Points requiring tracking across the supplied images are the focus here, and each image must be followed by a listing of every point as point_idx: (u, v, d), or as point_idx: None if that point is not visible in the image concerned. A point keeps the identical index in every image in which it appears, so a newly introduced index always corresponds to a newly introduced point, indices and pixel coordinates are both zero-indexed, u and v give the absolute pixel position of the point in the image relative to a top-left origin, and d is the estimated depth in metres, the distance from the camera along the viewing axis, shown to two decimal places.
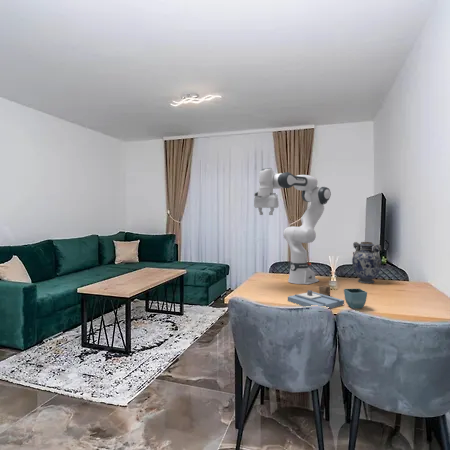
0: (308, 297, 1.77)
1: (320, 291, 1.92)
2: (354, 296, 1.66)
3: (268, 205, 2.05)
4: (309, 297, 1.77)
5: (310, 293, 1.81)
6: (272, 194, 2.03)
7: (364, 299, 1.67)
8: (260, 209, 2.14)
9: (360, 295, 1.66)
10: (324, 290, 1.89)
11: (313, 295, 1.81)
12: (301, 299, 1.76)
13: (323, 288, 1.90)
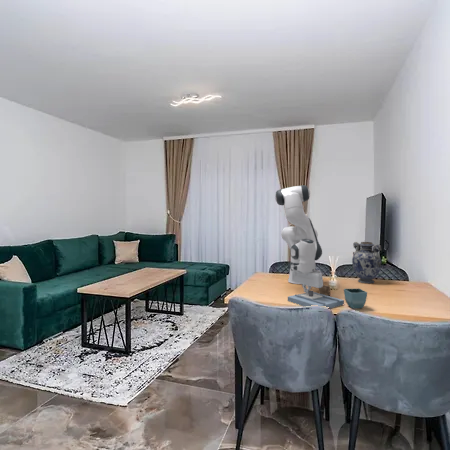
0: (309, 297, 1.76)
1: (320, 291, 1.92)
2: (354, 296, 1.66)
3: (310, 283, 1.78)
4: (310, 297, 1.76)
5: (311, 293, 1.80)
6: (315, 271, 1.77)
7: (364, 299, 1.67)
8: (304, 286, 1.84)
9: (360, 295, 1.66)
10: (324, 290, 1.89)
11: (314, 295, 1.80)
12: (301, 299, 1.76)
13: (323, 288, 1.90)
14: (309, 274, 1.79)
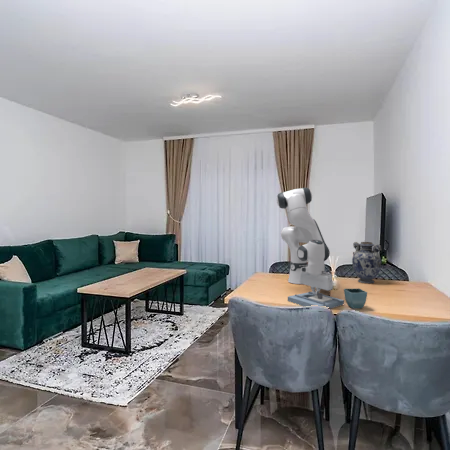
0: (319, 300, 1.71)
1: (320, 291, 1.92)
2: (354, 296, 1.66)
3: (320, 286, 1.73)
4: (320, 300, 1.71)
5: (320, 296, 1.75)
6: (325, 273, 1.72)
7: (364, 299, 1.67)
8: (313, 288, 1.79)
9: (360, 295, 1.66)
10: (324, 290, 1.89)
11: (324, 298, 1.75)
12: (301, 299, 1.76)
13: None
14: (318, 276, 1.74)
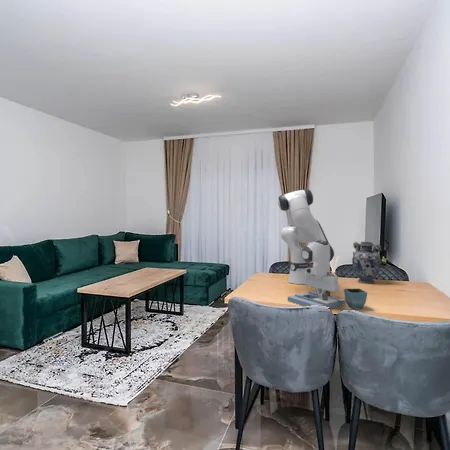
0: (324, 302, 1.68)
1: None
2: (354, 296, 1.66)
3: (325, 287, 1.70)
4: (325, 302, 1.68)
5: (326, 297, 1.72)
6: (330, 274, 1.69)
7: (364, 299, 1.67)
8: (318, 289, 1.76)
9: (360, 295, 1.66)
10: None
11: (329, 299, 1.72)
12: (301, 299, 1.76)
13: None
14: (324, 277, 1.71)
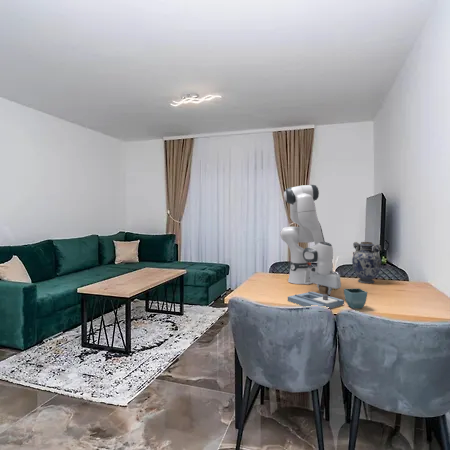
0: (324, 302, 1.68)
1: (320, 291, 1.92)
2: (354, 296, 1.66)
3: (328, 284, 1.87)
4: (325, 302, 1.68)
5: (326, 297, 1.72)
6: (333, 273, 1.86)
7: (364, 299, 1.67)
8: None
9: (360, 295, 1.66)
10: (324, 290, 1.89)
11: (329, 300, 1.72)
12: (301, 299, 1.76)
13: (323, 288, 1.90)
14: (327, 275, 1.88)
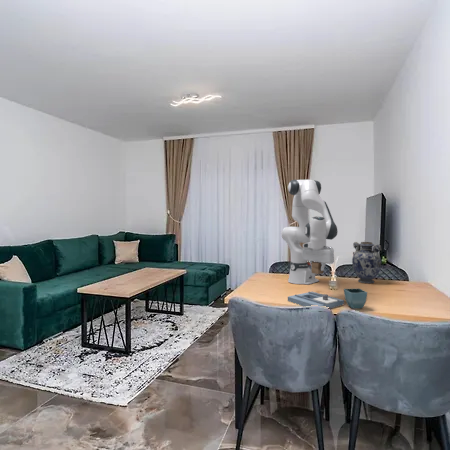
0: (324, 302, 1.68)
1: (313, 267, 1.84)
2: (354, 296, 1.66)
3: (321, 260, 1.80)
4: (325, 302, 1.68)
5: (326, 297, 1.72)
6: (327, 248, 1.79)
7: (364, 299, 1.67)
8: None
9: (360, 295, 1.66)
10: (317, 266, 1.82)
11: (329, 300, 1.72)
12: (301, 299, 1.76)
13: (316, 264, 1.82)
14: (320, 251, 1.81)
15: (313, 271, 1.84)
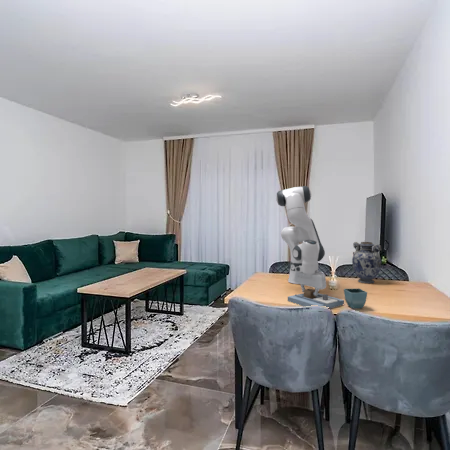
0: (324, 302, 1.68)
1: (305, 295, 1.82)
2: (354, 296, 1.66)
3: (313, 285, 1.77)
4: (325, 302, 1.68)
5: (326, 297, 1.72)
6: (318, 272, 1.76)
7: (364, 299, 1.67)
8: (303, 286, 1.86)
9: (360, 295, 1.66)
10: (309, 294, 1.79)
11: (329, 300, 1.72)
12: (301, 299, 1.76)
13: (308, 292, 1.80)
14: (312, 275, 1.78)
15: None
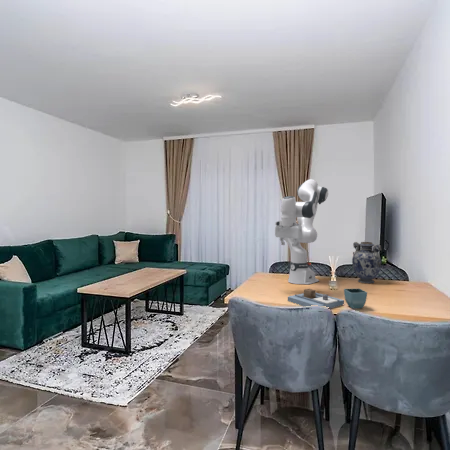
0: (324, 302, 1.68)
1: (305, 295, 1.82)
2: (354, 296, 1.66)
3: (291, 236, 1.93)
4: (325, 302, 1.68)
5: (326, 297, 1.72)
6: (296, 224, 1.91)
7: (364, 299, 1.67)
8: (282, 239, 2.02)
9: (360, 295, 1.66)
10: (309, 294, 1.79)
11: (329, 300, 1.72)
12: (301, 299, 1.76)
13: (308, 292, 1.80)
14: (290, 227, 1.93)
15: None
